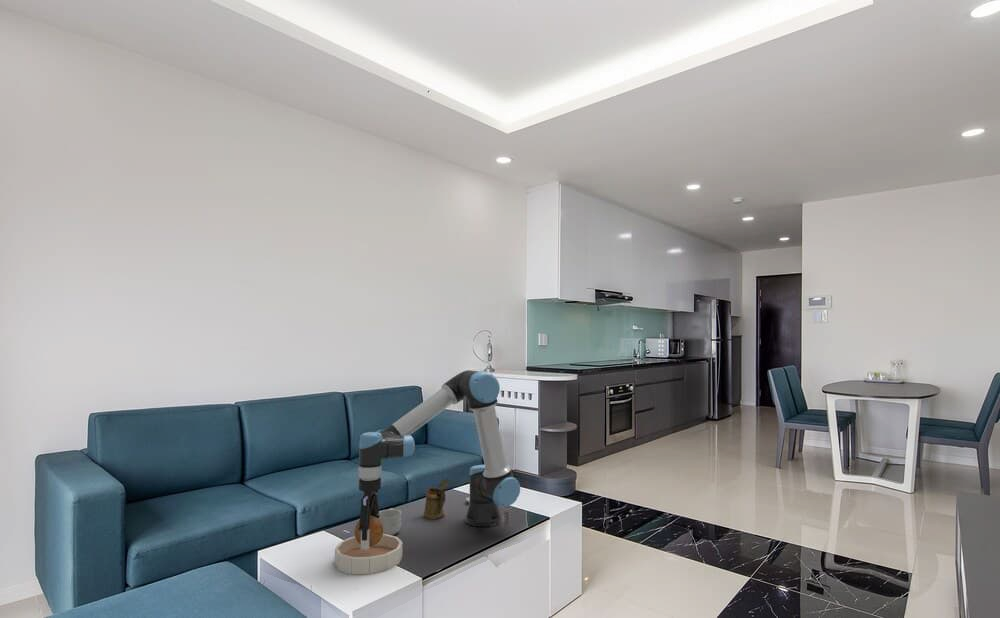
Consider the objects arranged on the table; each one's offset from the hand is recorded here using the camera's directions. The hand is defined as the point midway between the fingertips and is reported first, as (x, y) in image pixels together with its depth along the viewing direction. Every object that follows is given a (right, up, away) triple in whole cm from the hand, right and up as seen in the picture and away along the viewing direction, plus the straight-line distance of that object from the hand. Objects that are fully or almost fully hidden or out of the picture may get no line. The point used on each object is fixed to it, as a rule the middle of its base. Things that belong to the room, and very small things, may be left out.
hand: (368, 543), depth 183 cm
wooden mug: (+18, -9, +44) cm, 49 cm away
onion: (0, -1, 0) cm, 1 cm away
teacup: (+1, -8, +27) cm, 28 cm away
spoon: (+40, -11, +76) cm, 86 cm away
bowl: (0, -6, 0) cm, 6 cm away
